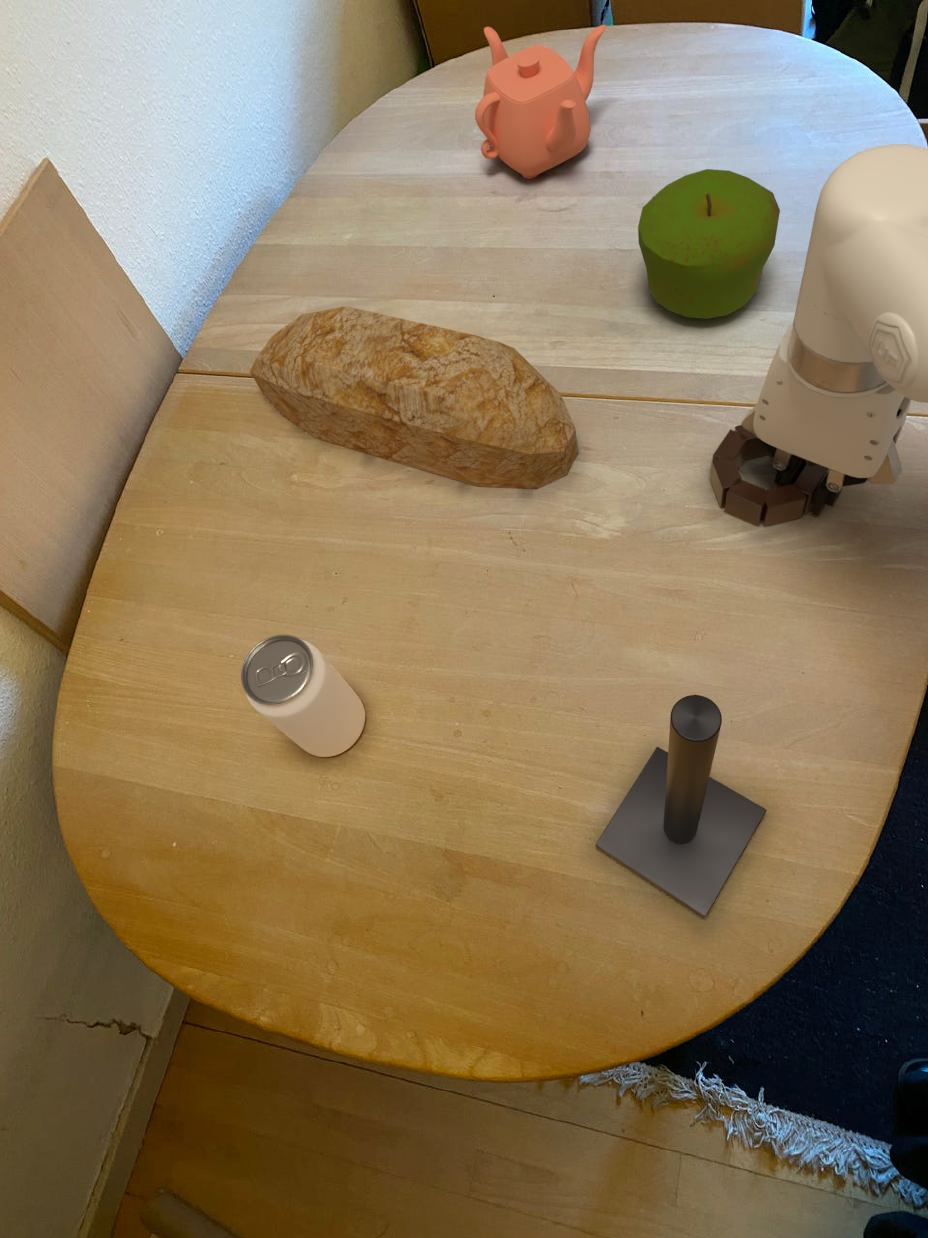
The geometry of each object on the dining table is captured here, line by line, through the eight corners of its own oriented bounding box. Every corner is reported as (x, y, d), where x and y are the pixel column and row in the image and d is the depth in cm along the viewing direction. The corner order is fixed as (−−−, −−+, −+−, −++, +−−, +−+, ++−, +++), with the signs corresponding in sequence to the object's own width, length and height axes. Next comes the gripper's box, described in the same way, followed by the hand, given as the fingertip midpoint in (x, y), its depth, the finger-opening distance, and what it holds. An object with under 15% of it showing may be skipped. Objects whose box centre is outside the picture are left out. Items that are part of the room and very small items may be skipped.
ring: (837, 463, 73) (844, 442, 71) (789, 540, 71) (795, 521, 68) (743, 427, 77) (746, 405, 74) (694, 498, 75) (695, 479, 72)
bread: (595, 418, 81) (589, 343, 72) (549, 508, 77) (537, 440, 69) (297, 343, 94) (261, 272, 85) (246, 417, 90) (203, 350, 81)
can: (374, 743, 70) (326, 692, 60) (303, 769, 70) (242, 722, 60) (357, 677, 73) (308, 617, 63) (289, 702, 74) (229, 646, 63)
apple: (630, 334, 85) (627, 241, 75) (651, 248, 89) (651, 150, 80) (759, 341, 81) (774, 244, 71) (773, 251, 86) (789, 149, 76)
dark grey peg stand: (765, 813, 62) (829, 688, 40) (704, 919, 59) (737, 849, 37) (657, 750, 65) (660, 604, 43) (596, 848, 63) (566, 745, 41)
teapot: (498, 113, 105) (483, 19, 95) (610, 113, 101) (606, 15, 91) (465, 191, 100) (445, 100, 90) (581, 195, 95) (574, 100, 86)
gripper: (997, 340, 54) (917, 500, 70) (763, 270, 61) (739, 431, 77) (948, 422, 52) (877, 568, 68) (712, 341, 59) (698, 491, 75)
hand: (804, 494), depth 72 cm, fingers closed on ring, 2 cm apart
